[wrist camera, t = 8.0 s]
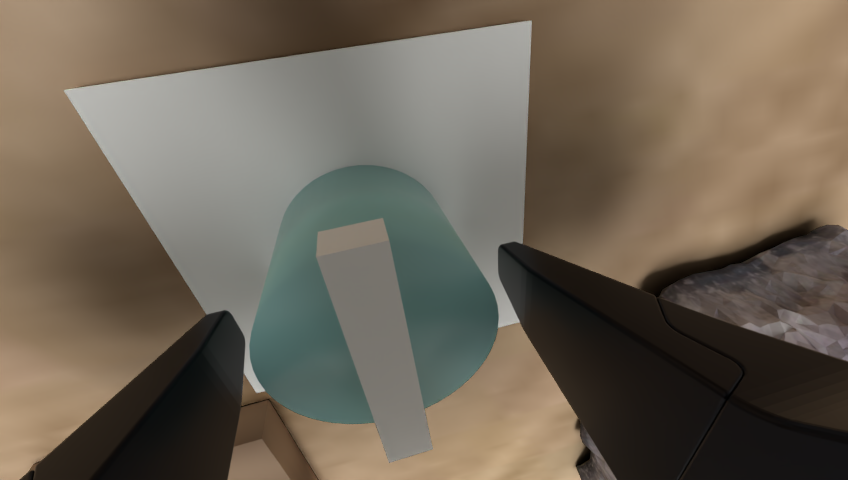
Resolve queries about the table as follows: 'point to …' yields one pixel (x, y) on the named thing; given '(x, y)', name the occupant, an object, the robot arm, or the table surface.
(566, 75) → the table surface
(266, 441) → the brown square plate
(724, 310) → the geode
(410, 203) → the cap
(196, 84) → the mat
